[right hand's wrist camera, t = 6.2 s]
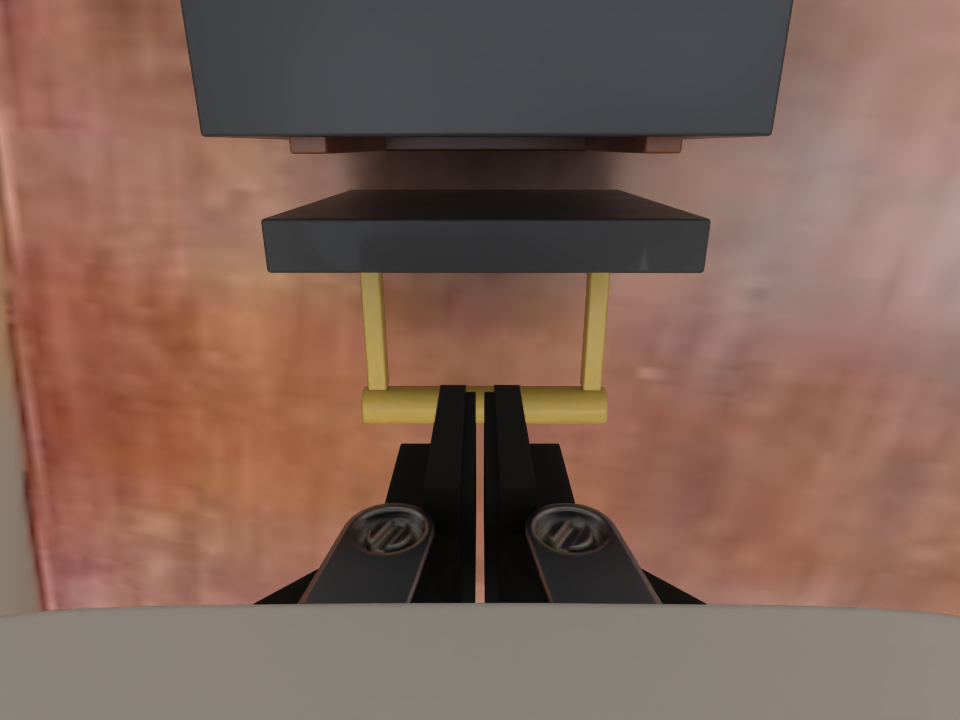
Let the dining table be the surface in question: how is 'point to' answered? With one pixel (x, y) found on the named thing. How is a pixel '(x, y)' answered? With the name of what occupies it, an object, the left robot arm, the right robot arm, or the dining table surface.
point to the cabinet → (486, 67)
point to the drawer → (485, 253)
